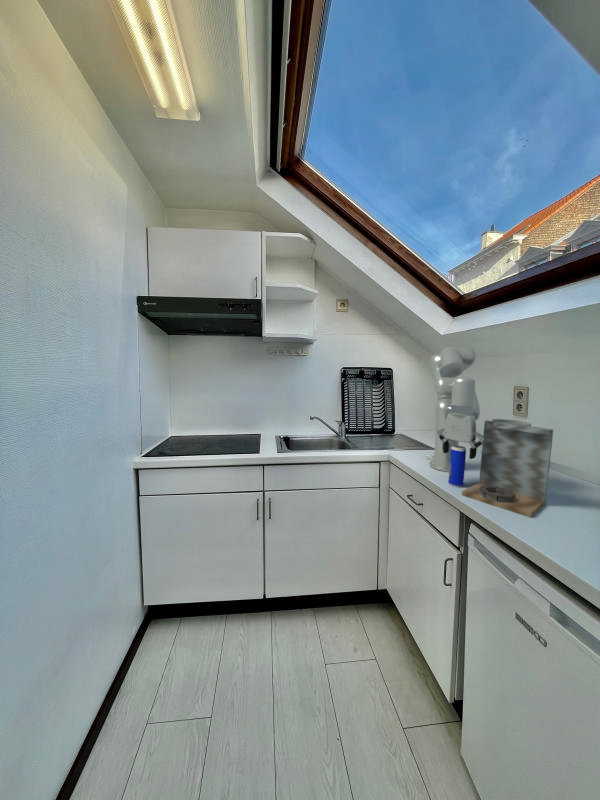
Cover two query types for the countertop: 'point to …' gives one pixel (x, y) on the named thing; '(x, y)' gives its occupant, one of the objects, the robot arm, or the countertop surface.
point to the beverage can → (457, 466)
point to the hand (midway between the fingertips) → (458, 455)
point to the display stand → (513, 467)
